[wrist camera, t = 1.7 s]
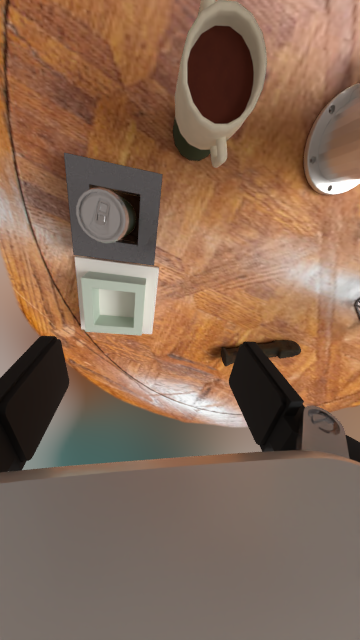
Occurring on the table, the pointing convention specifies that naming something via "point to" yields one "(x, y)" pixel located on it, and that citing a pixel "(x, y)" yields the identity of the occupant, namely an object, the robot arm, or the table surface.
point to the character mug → (217, 79)
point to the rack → (116, 296)
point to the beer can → (105, 215)
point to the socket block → (122, 180)
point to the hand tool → (265, 350)
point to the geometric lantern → (357, 306)
